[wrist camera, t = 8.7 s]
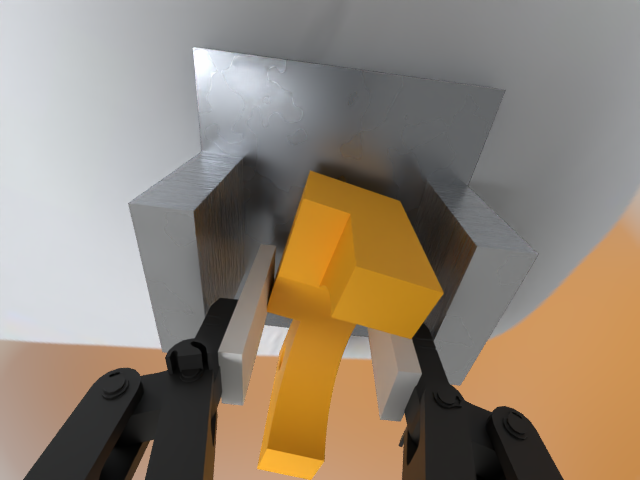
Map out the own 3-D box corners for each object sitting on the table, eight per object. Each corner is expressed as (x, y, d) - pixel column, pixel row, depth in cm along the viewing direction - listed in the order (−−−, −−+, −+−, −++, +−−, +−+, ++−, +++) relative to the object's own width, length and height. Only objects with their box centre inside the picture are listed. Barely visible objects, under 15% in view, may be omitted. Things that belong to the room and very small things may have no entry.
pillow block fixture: (202, 47, 13) (90, 39, 7) (494, 88, 13) (622, 112, 7) (220, 308, 21) (175, 407, 15) (403, 329, 21) (430, 435, 15)
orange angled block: (310, 170, 13) (292, 246, 8) (400, 200, 14) (443, 293, 8) (253, 345, 19) (219, 460, 14) (317, 362, 20) (311, 479, 14)
